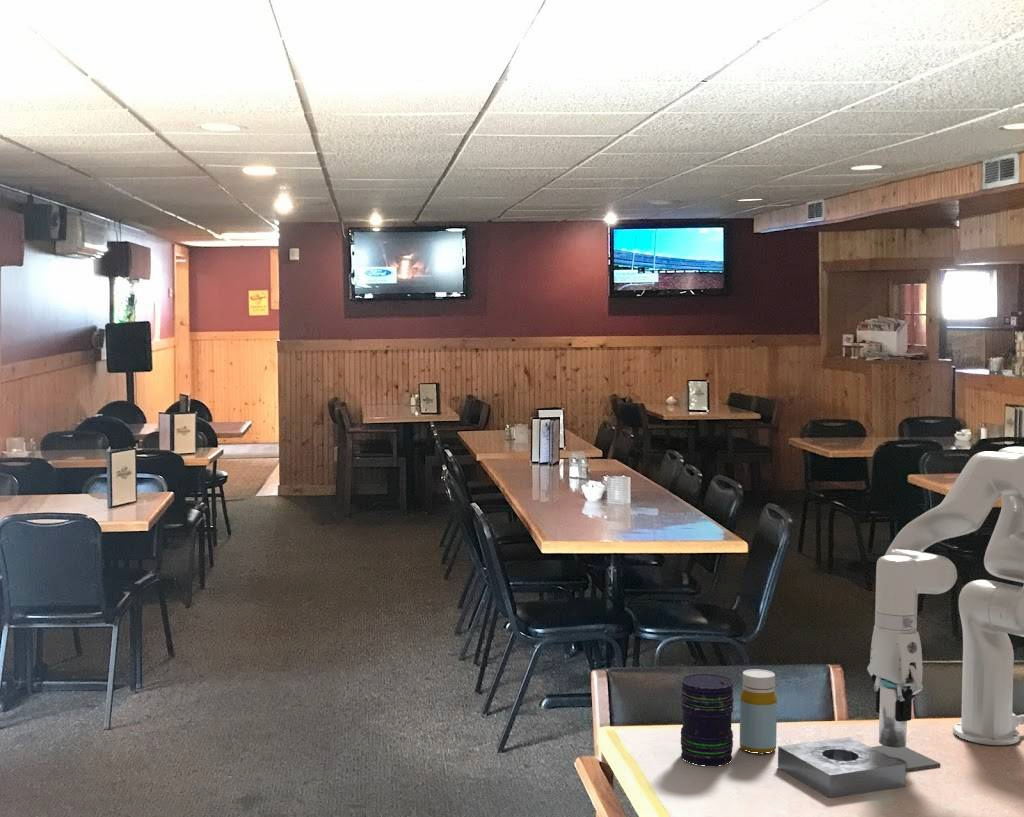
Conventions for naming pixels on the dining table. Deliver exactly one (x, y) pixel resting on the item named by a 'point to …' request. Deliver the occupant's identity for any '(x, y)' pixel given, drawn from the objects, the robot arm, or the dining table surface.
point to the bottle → (758, 711)
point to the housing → (841, 766)
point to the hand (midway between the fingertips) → (893, 715)
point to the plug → (890, 717)
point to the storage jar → (707, 719)
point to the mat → (908, 757)
